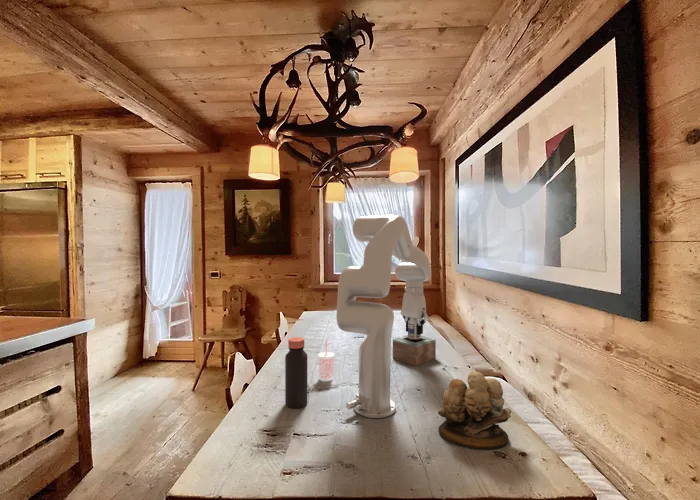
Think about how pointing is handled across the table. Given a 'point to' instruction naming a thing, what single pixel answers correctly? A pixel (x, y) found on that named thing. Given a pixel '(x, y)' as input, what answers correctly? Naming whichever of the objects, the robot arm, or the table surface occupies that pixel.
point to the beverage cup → (326, 365)
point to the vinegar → (296, 374)
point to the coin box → (414, 350)
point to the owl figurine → (474, 413)
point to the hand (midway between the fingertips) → (414, 332)
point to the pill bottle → (413, 329)
